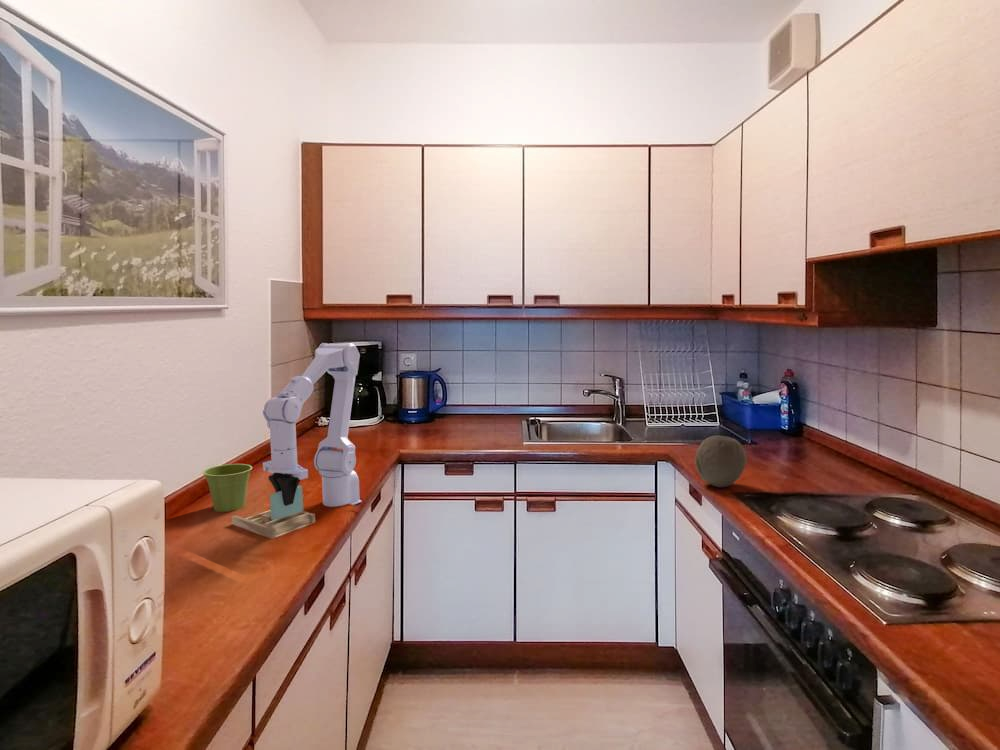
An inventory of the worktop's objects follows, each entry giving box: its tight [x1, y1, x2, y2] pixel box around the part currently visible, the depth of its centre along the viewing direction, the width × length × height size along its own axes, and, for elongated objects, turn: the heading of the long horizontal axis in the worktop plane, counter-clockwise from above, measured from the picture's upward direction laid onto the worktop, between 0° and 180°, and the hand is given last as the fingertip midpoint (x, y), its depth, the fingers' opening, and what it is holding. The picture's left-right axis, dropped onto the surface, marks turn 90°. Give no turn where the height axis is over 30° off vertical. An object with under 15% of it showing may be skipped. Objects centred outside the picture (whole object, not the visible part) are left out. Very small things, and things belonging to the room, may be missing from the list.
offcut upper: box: [262, 512, 273, 522], centre depth 139 cm, size 6×2×1 cm, turn 150°
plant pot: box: [202, 463, 253, 513], centre depth 151 cm, size 12×12×11 cm
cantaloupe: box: [694, 435, 747, 488], centre depth 170 cm, size 14×14×15 cm
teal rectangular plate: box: [269, 485, 304, 520], centre depth 136 cm, size 8×1×6 cm, turn 146°
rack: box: [231, 509, 316, 539], centre depth 140 cm, size 12×16×3 cm
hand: (286, 503), depth 136 cm, fingers closed on teal rectangular plate, 1 cm apart
